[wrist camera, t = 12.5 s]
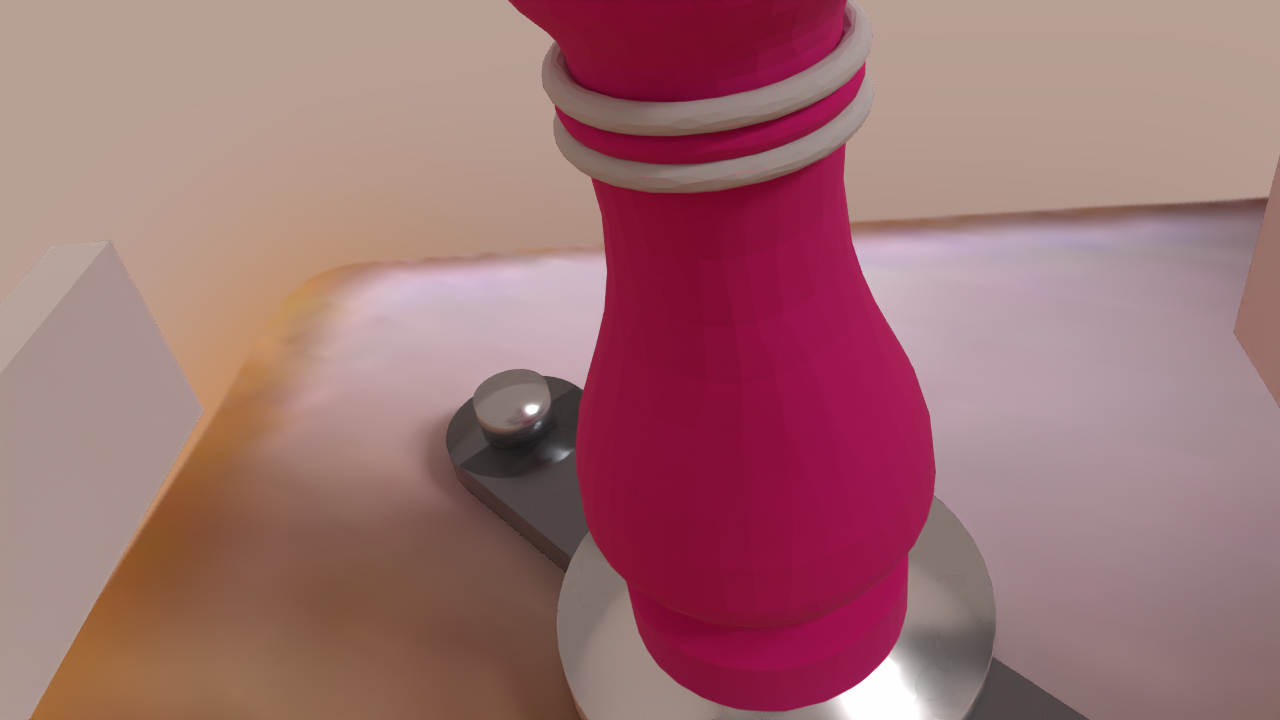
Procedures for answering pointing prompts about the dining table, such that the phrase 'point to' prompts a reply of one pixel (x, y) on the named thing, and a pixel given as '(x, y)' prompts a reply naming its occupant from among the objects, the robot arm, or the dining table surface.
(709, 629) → the pepper mill
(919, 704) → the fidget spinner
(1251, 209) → the dining table surface
